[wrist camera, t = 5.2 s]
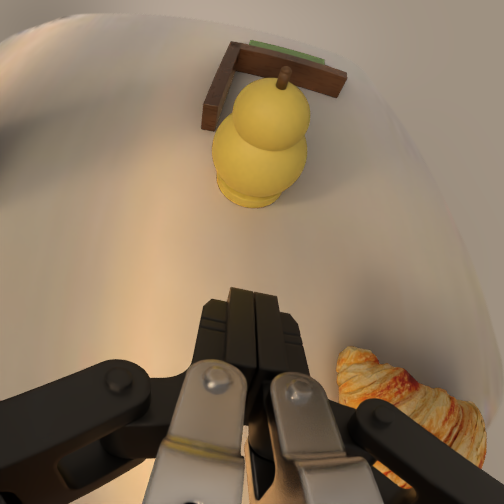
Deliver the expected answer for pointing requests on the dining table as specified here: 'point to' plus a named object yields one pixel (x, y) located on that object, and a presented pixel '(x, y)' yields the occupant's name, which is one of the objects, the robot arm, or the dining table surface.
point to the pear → (262, 141)
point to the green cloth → (287, 51)
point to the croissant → (411, 404)
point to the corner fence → (266, 76)
